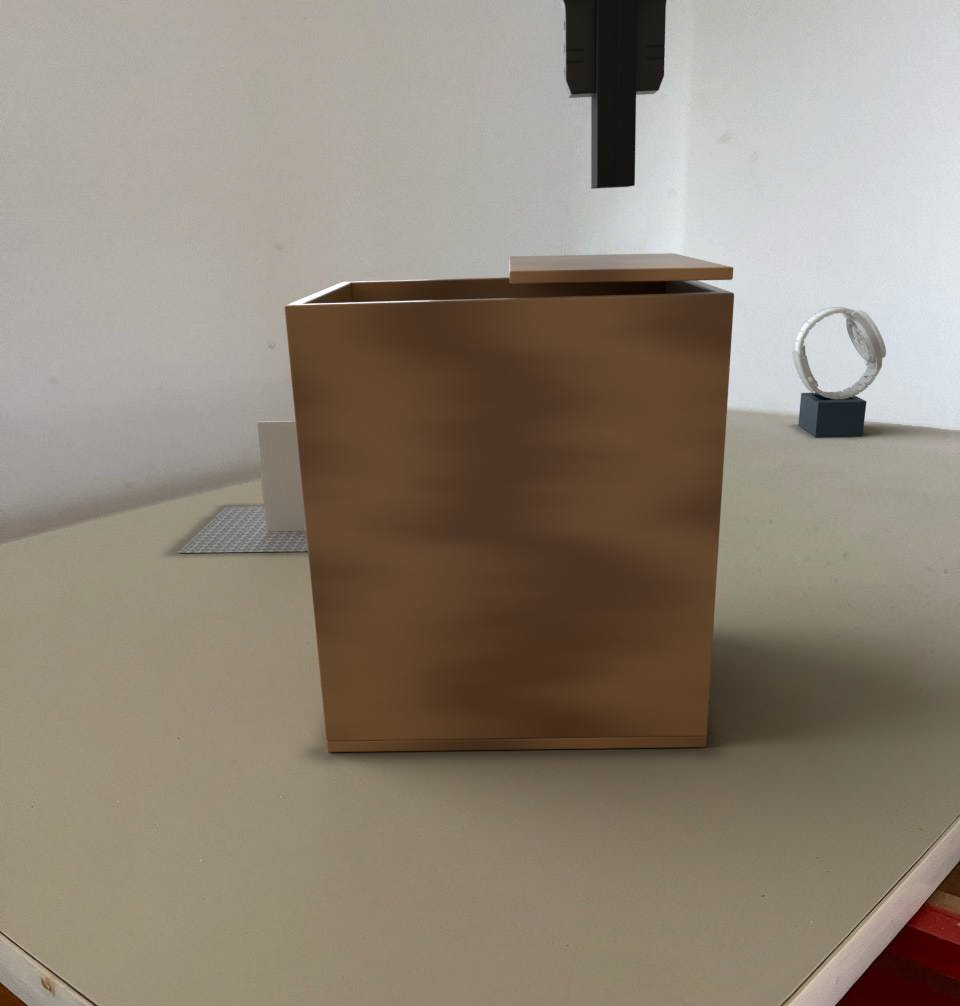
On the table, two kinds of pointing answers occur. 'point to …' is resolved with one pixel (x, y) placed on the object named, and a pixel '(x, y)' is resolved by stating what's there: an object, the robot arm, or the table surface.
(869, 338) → the watch
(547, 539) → the carton
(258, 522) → the architectural model
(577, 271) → the flap
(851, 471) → the table surface
